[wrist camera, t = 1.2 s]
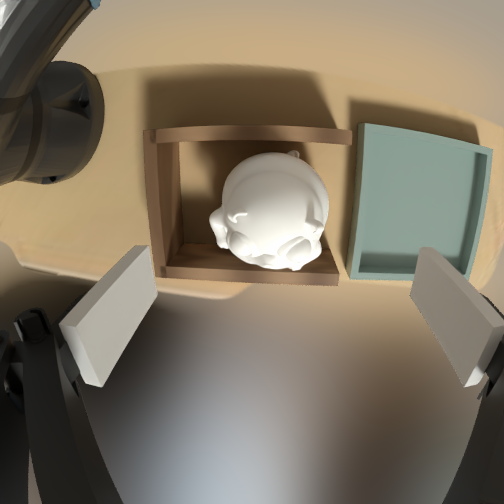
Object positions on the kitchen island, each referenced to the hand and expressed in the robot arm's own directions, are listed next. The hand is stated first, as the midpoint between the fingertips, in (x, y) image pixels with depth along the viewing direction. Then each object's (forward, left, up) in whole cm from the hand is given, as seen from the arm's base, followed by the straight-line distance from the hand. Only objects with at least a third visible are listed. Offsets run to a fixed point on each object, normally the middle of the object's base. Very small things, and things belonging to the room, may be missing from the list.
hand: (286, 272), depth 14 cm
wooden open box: (-3, -2, -18) cm, 18 cm away
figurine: (-1, -1, -18) cm, 18 cm away
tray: (+12, +8, -18) cm, 23 cm away
